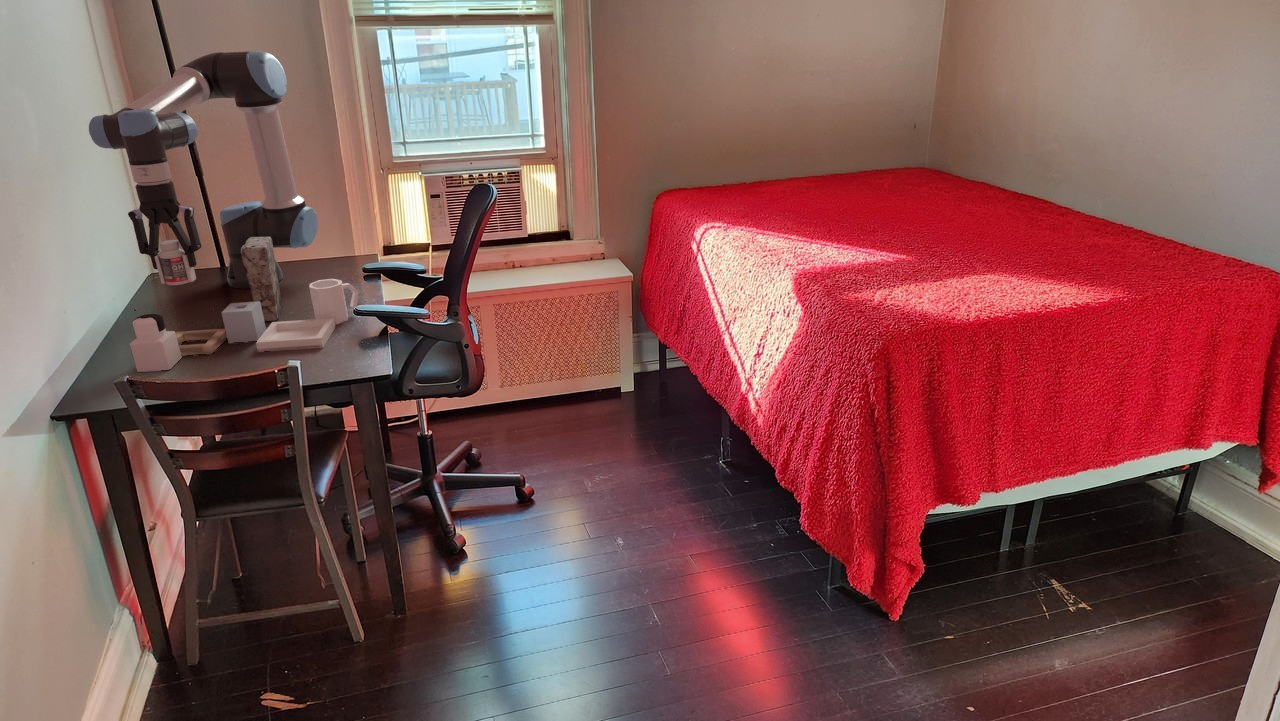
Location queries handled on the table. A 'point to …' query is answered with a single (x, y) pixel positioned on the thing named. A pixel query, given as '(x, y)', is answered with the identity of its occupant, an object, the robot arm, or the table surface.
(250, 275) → the stone block
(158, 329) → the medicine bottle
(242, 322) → the blue-grey block
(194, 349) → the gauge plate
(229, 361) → the table surface
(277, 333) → the tray
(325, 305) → the mug
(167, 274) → the pill bottle
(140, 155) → the robot arm
